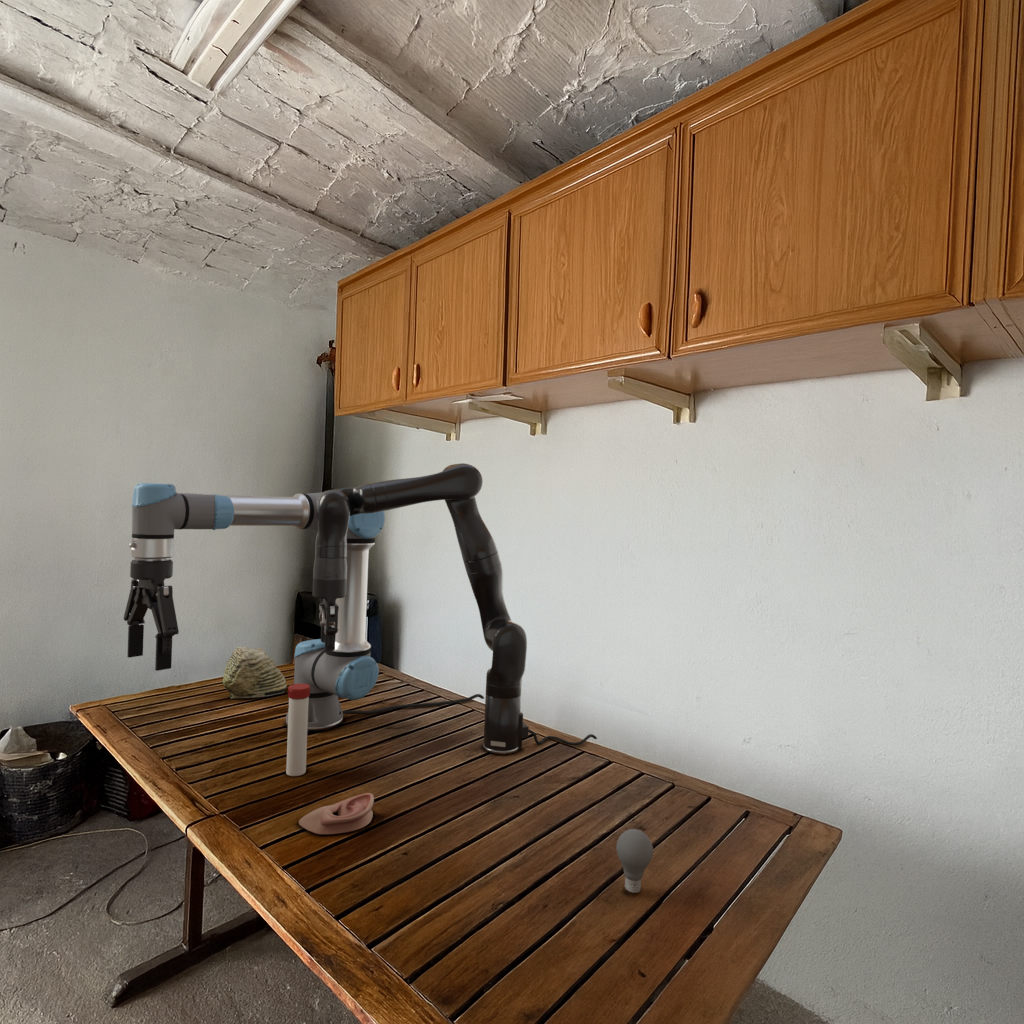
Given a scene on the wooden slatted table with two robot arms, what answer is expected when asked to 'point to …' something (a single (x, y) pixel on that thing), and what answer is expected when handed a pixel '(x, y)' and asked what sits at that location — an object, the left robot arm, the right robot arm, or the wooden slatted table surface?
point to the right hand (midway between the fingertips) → (327, 646)
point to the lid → (299, 691)
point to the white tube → (297, 736)
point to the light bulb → (634, 857)
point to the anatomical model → (340, 816)
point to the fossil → (252, 674)
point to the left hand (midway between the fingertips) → (148, 662)
